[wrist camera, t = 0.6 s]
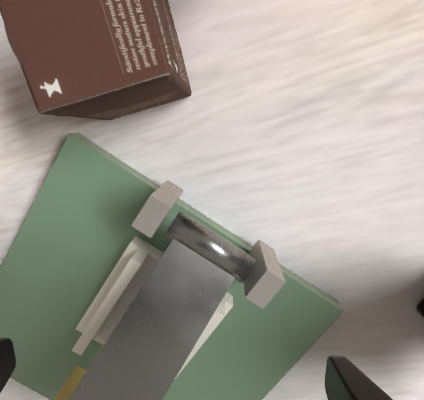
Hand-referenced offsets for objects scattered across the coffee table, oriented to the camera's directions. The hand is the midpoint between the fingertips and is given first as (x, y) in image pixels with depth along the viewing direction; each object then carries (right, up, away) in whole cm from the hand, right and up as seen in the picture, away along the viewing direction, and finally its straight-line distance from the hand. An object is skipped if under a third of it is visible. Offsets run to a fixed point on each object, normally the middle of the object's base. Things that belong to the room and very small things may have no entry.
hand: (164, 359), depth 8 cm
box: (-4, +13, +10) cm, 17 cm away
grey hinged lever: (-3, -4, +8) cm, 9 cm away
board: (-4, -5, +15) cm, 16 cm away
